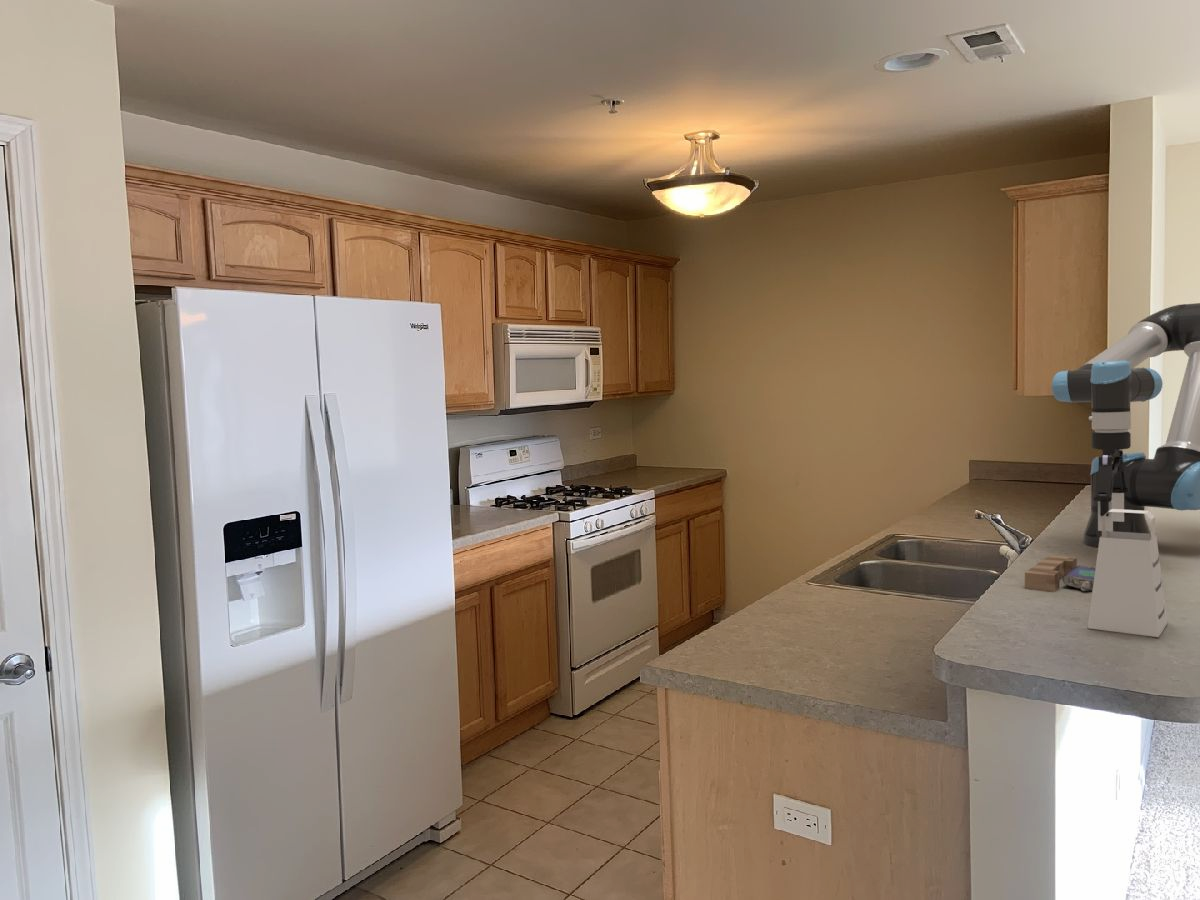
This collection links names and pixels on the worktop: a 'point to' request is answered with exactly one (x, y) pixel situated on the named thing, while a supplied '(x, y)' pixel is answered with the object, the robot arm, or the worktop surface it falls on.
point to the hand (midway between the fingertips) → (1111, 526)
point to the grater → (1128, 583)
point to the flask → (1080, 578)
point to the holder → (1049, 573)
